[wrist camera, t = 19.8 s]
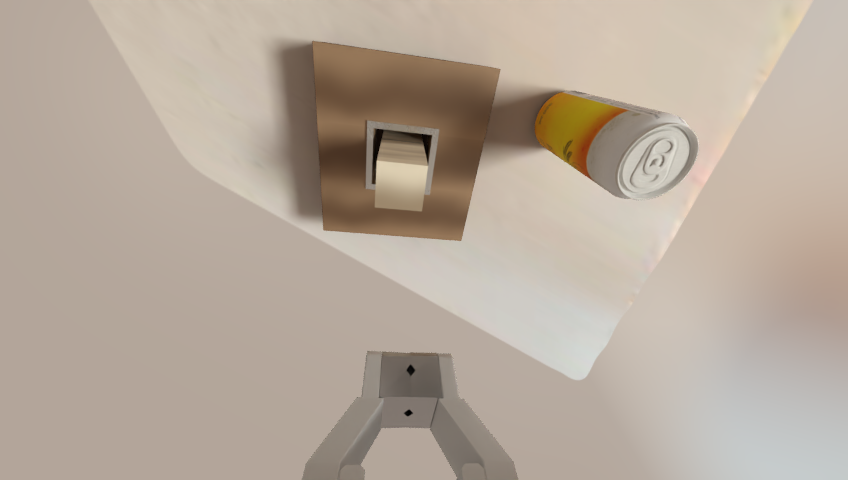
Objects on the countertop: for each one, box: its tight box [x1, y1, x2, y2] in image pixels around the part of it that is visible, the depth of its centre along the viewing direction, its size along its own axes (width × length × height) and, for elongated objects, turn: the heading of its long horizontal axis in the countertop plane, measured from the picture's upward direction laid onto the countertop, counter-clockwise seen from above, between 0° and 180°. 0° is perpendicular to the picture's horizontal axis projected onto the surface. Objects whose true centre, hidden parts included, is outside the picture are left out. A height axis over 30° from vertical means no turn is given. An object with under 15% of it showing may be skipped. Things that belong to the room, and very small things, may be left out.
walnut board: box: [312, 41, 500, 241], centre depth 32 cm, size 18×16×4 cm
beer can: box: [535, 91, 699, 200], centre depth 27 cm, size 6×6×15 cm
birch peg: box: [375, 129, 428, 211], centre depth 29 cm, size 4×4×11 cm
